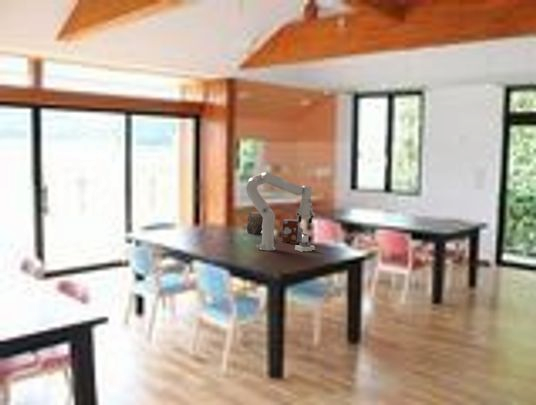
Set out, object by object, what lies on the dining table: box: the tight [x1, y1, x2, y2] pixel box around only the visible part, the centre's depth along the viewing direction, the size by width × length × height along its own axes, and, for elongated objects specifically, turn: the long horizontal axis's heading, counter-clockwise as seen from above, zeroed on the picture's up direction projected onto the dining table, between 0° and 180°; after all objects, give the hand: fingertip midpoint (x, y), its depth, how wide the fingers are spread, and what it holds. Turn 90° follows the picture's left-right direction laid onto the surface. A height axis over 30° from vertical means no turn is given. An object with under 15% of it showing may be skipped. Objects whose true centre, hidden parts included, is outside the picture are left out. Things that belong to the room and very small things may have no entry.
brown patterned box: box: [281, 218, 305, 244], centre depth 485 cm, size 9×19×20 cm, turn 78°
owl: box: [246, 211, 263, 236], centre depth 527 cm, size 13×13×20 cm
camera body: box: [294, 242, 316, 253], centre depth 451 cm, size 13×9×6 cm
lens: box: [301, 233, 309, 244], centre depth 451 cm, size 5×5×9 cm
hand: (304, 222), depth 450 cm, fingers open, 9 cm apart
